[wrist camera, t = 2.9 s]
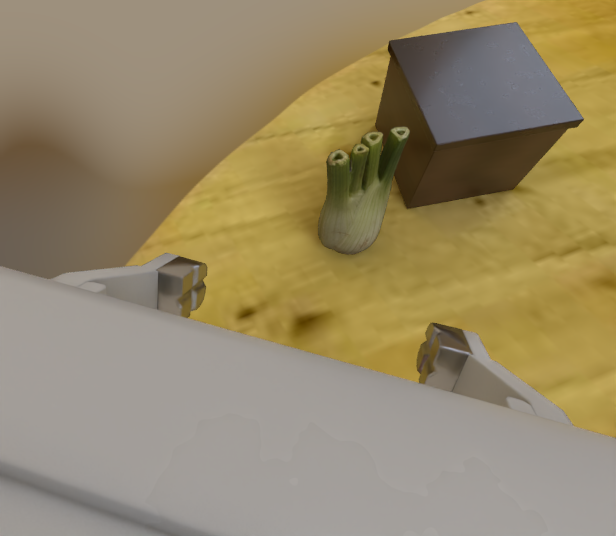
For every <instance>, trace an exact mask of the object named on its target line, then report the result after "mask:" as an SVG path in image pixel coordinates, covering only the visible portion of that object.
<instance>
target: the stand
mask: <svg viewBox="0 0 616 536" xmlns="http://www.w3.org/2000/svg"><path fill="white" fill-rule="evenodd" d="M388 51H389V53H390V56H391V57H390V62H389V66H388V71H387V75H386V80H385V84H384V88H383V93H382V97H381V102H380V106H379V110H378V115H377V119H376V124H375V125H376V128H377V130H378V132H381V133H382V134H383V140H382V143H383V146H384V145H385V143H386V141H387V138H388V135H389V132H390V130H391V129H392V128H394V127H407V128H408V129H409V131H410V133H409V137H408V139H407V142H406V144H405V146H404V148H403V151H402V153H401V156H400V158H399V161H398V164H397V167H396V170H395V173H394V175H395V178H396V181H397V183H398V186H399V189H400V191H401V194H402V197H403V199H404V202H405V205H406V207H407V209H409V208H414V207H419V206H425V205H430V204H436V203H441V202H447V201H452V200H457V199H463V198H468V197H474V196H479V195H484V194H490V193H495V192H501V191H506V190H511V189H514V188H515V187H516V186H517V185H518V184H519V182H520V181H521V180H522V179H523V178H524V177H525V176H526V175H527V174H528V172H529V171H530V170H531V169H532V168H533V167H534V166H535V165H536V164H537V163H538V161H539V160H540V159H541V158H542V157H543V156H544V155H545V154H546V153H547V151H548V150H549V149H550V148H551V147H552V146H553V145H554V144H555V143H556V142H557V140H558V139H559V138H560V137H561V136H562V135H563V134H564V133H565V132H566V130H567V129H569V128H575V127H578V126H579V124H580V123H581V122H582V121H583V120H584V118H583V117H582V116H581V114H580V113H579V111H578V110H577V108H576V107H575V105H574V104H573V103H572V101H571V100H570V98H569V97H568V95H567V94H566V92H565V91H564V90H563V88H562V87H561V85H560V84H559V82H558V81H557V80H556V78H555V77H554V75H553V74H552V72H551V71H550V69H549V68H548V67H547V65H546V64H545V62H544V61H543V59H542V58H541V57H540V55H539V54H538V52H537V51H536V49H535V48H534V46H533V45H532V44H531V42H530V41H529V39H528V38H527V36H526V35H525V34H524V32H523V31H522V29H521V28H520V26H519V25H518V23H517V22H514V23H507V24H500V25H494V26H487V27H480V28H473V29H466V30H459V31H452V32H446V33H439V34H432V35H425V36H418V37H411V38H404V39H398V40H391V41H389V45H388Z"/></svg>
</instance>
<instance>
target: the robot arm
mask: <svg viewBox="0 0 616 536" xmlns="http://www.w3.org/2000/svg"><path fill="white" fill-rule="evenodd" d="M206 276H207V265H206V264H205V263H202V262H198V261H195V260H191V259H187V258H184V257H180V256H178V255H173V254H169V253H165V254H163V255H161V256H159V257H157V258H155V259H154V260H152V261H150V262H148V263H146V264H144V265H142V266H137V265H136V266H126V267H117V268H109V269H99V270H90V271H80V272H70V273H64V274H61V275H59V276H57V277H55V278H52V279H50V280H49V279H45V278H42V277H38V276H35V275H31V274H27V273H24V272H20V271H17V270H13V269H10V268H6V267H2V266H0V536H616V438H614V437H611V436H607V435H603V434H600V433H596V432H593V431H589V430H585V429H582V428H578V427H575V426H573V424H572V423H571V421H570V420H569V418H568V417H567V415H566V414H565V412H564V411H563V410H562V409H560V408H559V407H557V406H556V405H555V404H553V403H552V402H551V401H549V400H548V399H547V398H545V397H544V396H542V395H541V394H540V393H538V392H537V391H536V390H534V389H533V388H532V387H530V386H529V385H528V384H526V383H525V382H523V381H522V380H521V379H519V378H518V377H517V376H515V375H514V374H513V373H511V372H510V371H508V370H507V369H506V368H504V367H503V366H502V365H500V364H499V363H498V362H496V361H493V360H491V359H490V357H489V355H488V353H487V351H486V349H485V347H484V345H483V343H482V341H481V339H480V337H479V336H478V334H477V333H474V332H470V331H465V330H462V329H458V328H454V327H450V326H446V325H441V324H437V323H430V324H429V326H428V328H427V330H426V333H425V334H426V339H427V341H425V342H424V343H422V344H421V346H420V349H419V352H418V356H417V371H418V372H419V373H420V374H421V375H420V377H419V383H417V382H414V381H410V380H407V379H403V378H399V377H396V376H392V375H389V374H385V373H382V372H378V371H374V370H371V369H367V368H364V367H360V366H356V365H353V364H349V363H346V362H342V361H339V360H335V359H331V358H328V357H324V356H321V355H317V354H314V353H310V352H306V351H303V350H299V349H296V348H292V347H289V346H285V345H281V344H278V343H274V342H271V341H267V340H264V339H260V338H256V337H253V336H249V335H246V334H242V333H239V332H235V331H231V330H228V329H224V328H221V327H217V326H214V325H210V324H206V323H203V322H199V321H196V320H192V319H189V318H188V317H189V316H190V311H193V310H197V309H198V308H199V307H200V305H201V304H202V302H203V300H204V296H205V292H206V286H205V284H204V282H203V279H204V278H205V277H206Z"/></svg>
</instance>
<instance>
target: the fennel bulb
mask: <svg viewBox="0 0 616 536" xmlns="http://www.w3.org/2000/svg"><path fill="white" fill-rule="evenodd" d="M409 133H410V131H409V129H408V128H407V127H394V128H392V129H391V130H390V132H389V135H388V138H387V141H386V143H385V145H384V148H383V151H382V153H381V147H382V140H383V134H382V133H381V132H369V133H367V134H365V135H364V136H363V137H362V139H361V144H356V145H355V146H354V147H353V149H352V152H351V157H350V160H349V156H348V154H346V153H344V152H343V151H342V150H340V149H338V150H336V151H334V152H331V154H330V155H329V156H328V159H327V162H326V163H327V179H328V182H327V185H328V186H327V195H326V200H325V203H324V206H323V208H322V211H321V214H320V217H319V223H318V236H319V238H320V240H321V242H322V244H323V245H324V246H326V247H328V248H330V249H333V250H335V251H337V252H339V253H343V254H356V253H359V252H361V251H364V250H365V249H367V248H368V247H369V246H370V245H371V244H372V243H373V242H374V241H375V239H376V238H377V236H378V233H379V231H380V227H381V224H382V220H383V217H384V214H385V210H386V206H387V202H388V198H389V195H390V190H391V184H392V179H393V176H394V173H395V170H396V167H397V164H398V161H399V158H400V156H401V153H402V151H403V148H404V146H405V144H406V142H407V139H408V137H409ZM380 153H381V156H380Z"/></svg>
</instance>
